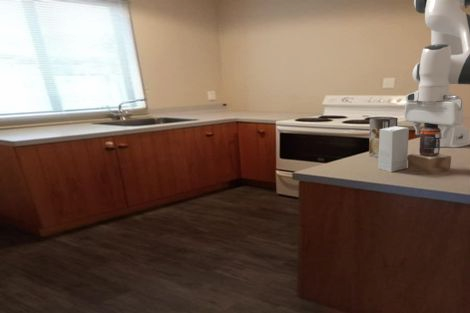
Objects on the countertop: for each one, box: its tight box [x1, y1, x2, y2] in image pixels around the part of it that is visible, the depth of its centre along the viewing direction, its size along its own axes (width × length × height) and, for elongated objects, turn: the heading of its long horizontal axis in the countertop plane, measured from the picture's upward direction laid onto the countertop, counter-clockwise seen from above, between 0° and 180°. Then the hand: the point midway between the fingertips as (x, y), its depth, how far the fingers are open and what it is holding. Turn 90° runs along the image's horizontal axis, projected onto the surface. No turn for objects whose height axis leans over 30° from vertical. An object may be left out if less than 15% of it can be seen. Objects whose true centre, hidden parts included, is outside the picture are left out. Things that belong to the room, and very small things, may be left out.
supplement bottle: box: [418, 122, 441, 156], centre depth 112 cm, size 6×6×11 cm
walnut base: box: [407, 152, 452, 175], centre depth 114 cm, size 9×9×5 cm
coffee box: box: [368, 116, 399, 158], centre depth 136 cm, size 9×6×16 cm
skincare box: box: [377, 125, 410, 173], centre depth 116 cm, size 8×6×15 cm
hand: (430, 136), depth 112 cm, fingers open, 8 cm apart
